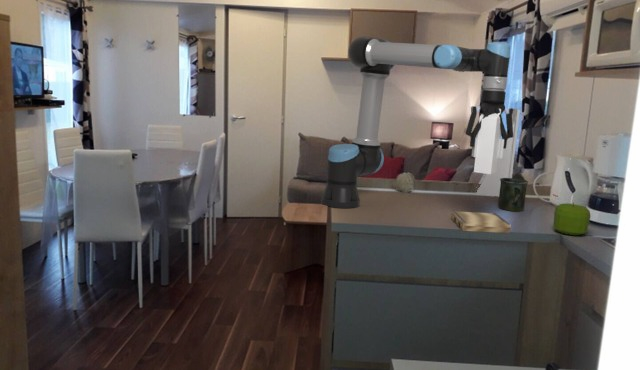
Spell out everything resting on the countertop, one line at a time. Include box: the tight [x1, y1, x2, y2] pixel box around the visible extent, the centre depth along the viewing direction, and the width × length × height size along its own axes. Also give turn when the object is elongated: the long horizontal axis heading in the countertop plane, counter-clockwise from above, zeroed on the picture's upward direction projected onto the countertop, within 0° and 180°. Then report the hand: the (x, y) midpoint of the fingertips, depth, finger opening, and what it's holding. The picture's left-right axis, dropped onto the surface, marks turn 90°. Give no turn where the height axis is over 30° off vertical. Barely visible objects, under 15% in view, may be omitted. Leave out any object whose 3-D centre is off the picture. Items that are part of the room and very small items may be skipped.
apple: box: [553, 202, 591, 236], centre depth 181 cm, size 11×11×11 cm
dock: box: [450, 210, 512, 234], centre depth 185 cm, size 16×16×3 cm
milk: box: [473, 109, 504, 174], centre depth 180 cm, size 6×6×22 cm
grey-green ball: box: [393, 172, 416, 193], centre depth 242 cm, size 9×8×10 cm
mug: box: [497, 177, 529, 212], centre depth 214 cm, size 11×15×12 cm
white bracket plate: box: [475, 108, 521, 198], centre depth 244 cm, size 20×14×40 cm
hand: (486, 157), depth 181 cm, fingers closed on milk, 8 cm apart
